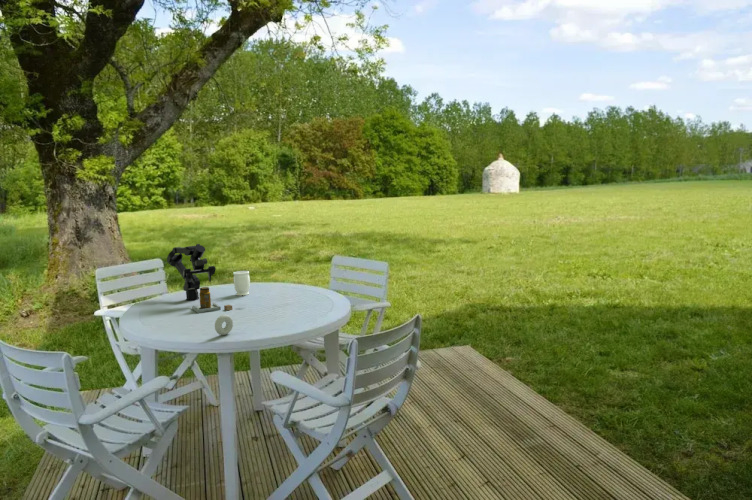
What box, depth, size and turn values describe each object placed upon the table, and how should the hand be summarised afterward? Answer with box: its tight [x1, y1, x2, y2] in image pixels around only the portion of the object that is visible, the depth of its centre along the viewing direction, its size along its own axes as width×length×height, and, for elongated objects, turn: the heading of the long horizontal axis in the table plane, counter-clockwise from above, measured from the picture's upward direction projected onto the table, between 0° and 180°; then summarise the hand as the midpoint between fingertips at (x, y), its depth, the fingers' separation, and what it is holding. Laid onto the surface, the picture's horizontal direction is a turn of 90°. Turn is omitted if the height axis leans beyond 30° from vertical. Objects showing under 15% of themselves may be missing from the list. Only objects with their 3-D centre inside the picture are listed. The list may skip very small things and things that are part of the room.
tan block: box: [223, 304, 233, 311], centre depth 322 cm, size 4×3×2 cm
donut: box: [214, 314, 234, 336], centre depth 269 cm, size 10×4×10 cm, turn 143°
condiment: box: [198, 286, 212, 309], centre depth 324 cm, size 7×8×12 cm
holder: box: [191, 302, 221, 314], centre depth 324 cm, size 13×13×2 cm
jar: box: [232, 270, 251, 297], centre depth 362 cm, size 11×10×15 cm
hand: (202, 282), depth 335 cm, fingers open, 9 cm apart
